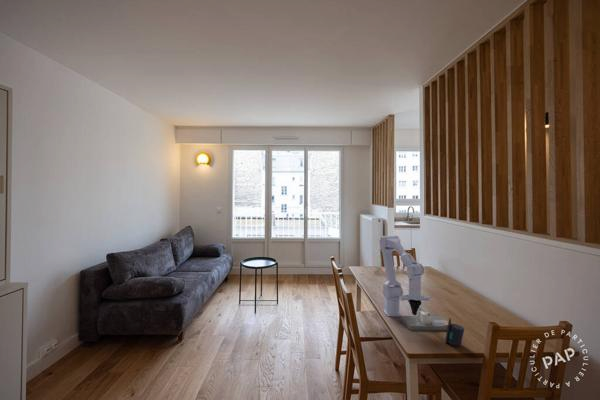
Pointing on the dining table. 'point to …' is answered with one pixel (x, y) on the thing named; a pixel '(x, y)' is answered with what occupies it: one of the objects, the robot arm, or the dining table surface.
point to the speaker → (454, 334)
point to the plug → (425, 318)
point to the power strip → (415, 324)
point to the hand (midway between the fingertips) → (414, 314)
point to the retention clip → (422, 310)
